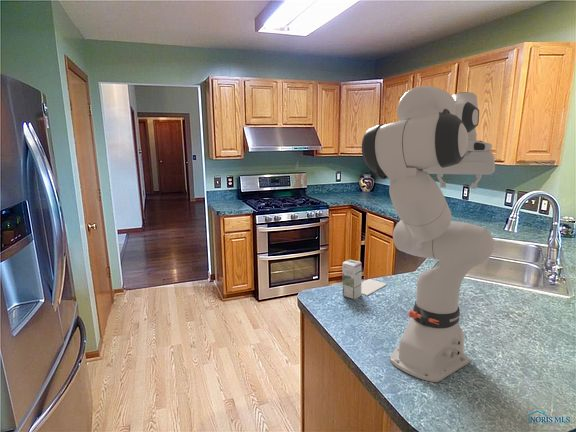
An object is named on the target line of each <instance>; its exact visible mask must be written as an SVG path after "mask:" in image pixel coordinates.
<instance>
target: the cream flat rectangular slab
mask: <svg viewBox="0 0 576 432" xmlns="http://www.w3.org/2000/svg"><path fill="white" fill-rule="evenodd" d="M386 286H388V284H387V283H385V282H381V281H378V280H375V279H371V278H368V279H367V280H364V281H361V290H362V295H363V296H369V295H372V294H373V293H375V292H377V291H379V290H380V289H382V288H384V287H386Z"/></svg>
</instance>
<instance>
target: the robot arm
mask: <svg viewBox="0 0 576 432" xmlns="http://www.w3.org/2000/svg"><path fill="white" fill-rule="evenodd" d="M478 105H479V104H478V97H477V94H476V93H474V92H468V91H466V92H465V91H464V92H457V93H454V94H452V95H451V94H450V93H449V92H447V91H445V90H443V89H442V88H440V87H437V86H430V85H422V86H415V87H413V88H411V89H409V90H407V91H406V92H405V93H404V94H403V95H402V96H401V98H400V99H399V100H398V105H397V107H396V109H397V111H396V113H397V114H396V115H397V117H398V120H397V121H393V122H390V123H386V124H383V123H380V124H378V125H374V126H372V127H370V128H368V129H367V130H366V132H364V135H363V138H362V139H361V140H362V141H361V155H362V158H363V161H364V162H365V164H366V165H367V167H368V169H370V171H372V172H374V173H376V176H377V177H378V178H379V179H381V180H386V179H389V188H388V189H389V190H388V191H389V196H390V197H389V198H390V201H391V204H392V207H393V208H394V211H395V213H396V215H397V216H398V218H399V219H400V220H399V221H398V222H397V223H396V225H395V226H394V228H393V232H392V239H393V240H392V241H393V244H394V246H395V248H396V249H397V250H399V251H401V252H402V253H405V254H408V255H411V256H415V257H420V258H426V259H429V260H430V259H432V260H436V261H438V267H433V268H430V269H427V270H425V271H423V272H422V273H420V274H419V275H418V278H417V280H416V293H415V295H416V297H415V301H414V304H413V308H412V309H410V310H409V312H408V317H409V318H411V319H410V320H409V322H408V324H407V325H406V327H405V330H404V332H403V333H402V336H401V338H400V341H399V343H398V345H397V346H396V347H395V349H394V350H393V352H392V354H391V355H390V356H389V362H391V364H392V365H393V366H394V367H396V368H398V369H399V370H401V371H403V372H404V373H406V374H409V375H410V376H413V377H415V378H417V379H421V380H423V381H427V382H432V383H438V382H440V381H443V380H444V379H445V378H447V377H448V376H450V375H452V374H453V373H455V372H456V371H459V370H460V369H461V368H463V367H465V366H466V365H468V364H469V363H470V358H469V357H468V355H466V354H465V333H464V331H463V329H462V327H461V326H460V323H459V322H460V317H461V312H460V310H461V309H460V307H459V299H460V298H459V297H460V292H461V291H460V290H461V287H462V284H463V283H462V282H463V280H464V278H465V277H466V276H467V275H468V273H469V272H470V271H472V270H473V269H474V268H476V267H478V266H480V265H482V264H484V263H486V262H487V261H488V260H489V259H490V257H491V256H492V255H493V252H494V247H495V243H494V242H495V241H494V237H493V236H492V234H491V232H490V231H489V229H487V228H486V227H483V226H481V225H478V224H473V223H469V222H463V221H455V220H454V221H452V217H453V216H452V211H451V209H450V207H449V205H448V202H447V200H446V197H445V195H444V192H443V191H442V190H441V188H443V189H444V188H446V186H447V182H446V181H444V180H443V179H442V178H443V177H444V175H475V178H476V180H475V181H474V182H471V184H470V189H471V190H472V189H475V190H476V189H477V188H478V183H479V182H480V180H481V179H482V176H484V175H485V176H487V175H489V176H490V175H493V174H494V173H495V171H496V162H495V161H496V159H495V155H494V153H493V152H492V149H493V148H492V147H493V145H492V143H489V142H486V141H482V140H478V139H477V129H476V127H478V126H479V122H480V119H479V118H480V109H479V106H478ZM431 175H436V178H437V180H438V181H439V185H438V183H437V182H436V180H434V179H433V177H432V176H431Z"/></svg>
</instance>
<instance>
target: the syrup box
mask: <svg viewBox="0 0 576 432" xmlns="http://www.w3.org/2000/svg"><path fill="white" fill-rule="evenodd" d="M341 268H342V269H341V271H342V273H341V274H342V297H344V298H348V299H351V300H354V301H355V300H357V299H358V298H360V297H361V296H362V295H363V294H362V290H361V283H362V262H361V261H359V260H353V259H347V260H345V261H343V262H342V264H341Z"/></svg>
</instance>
